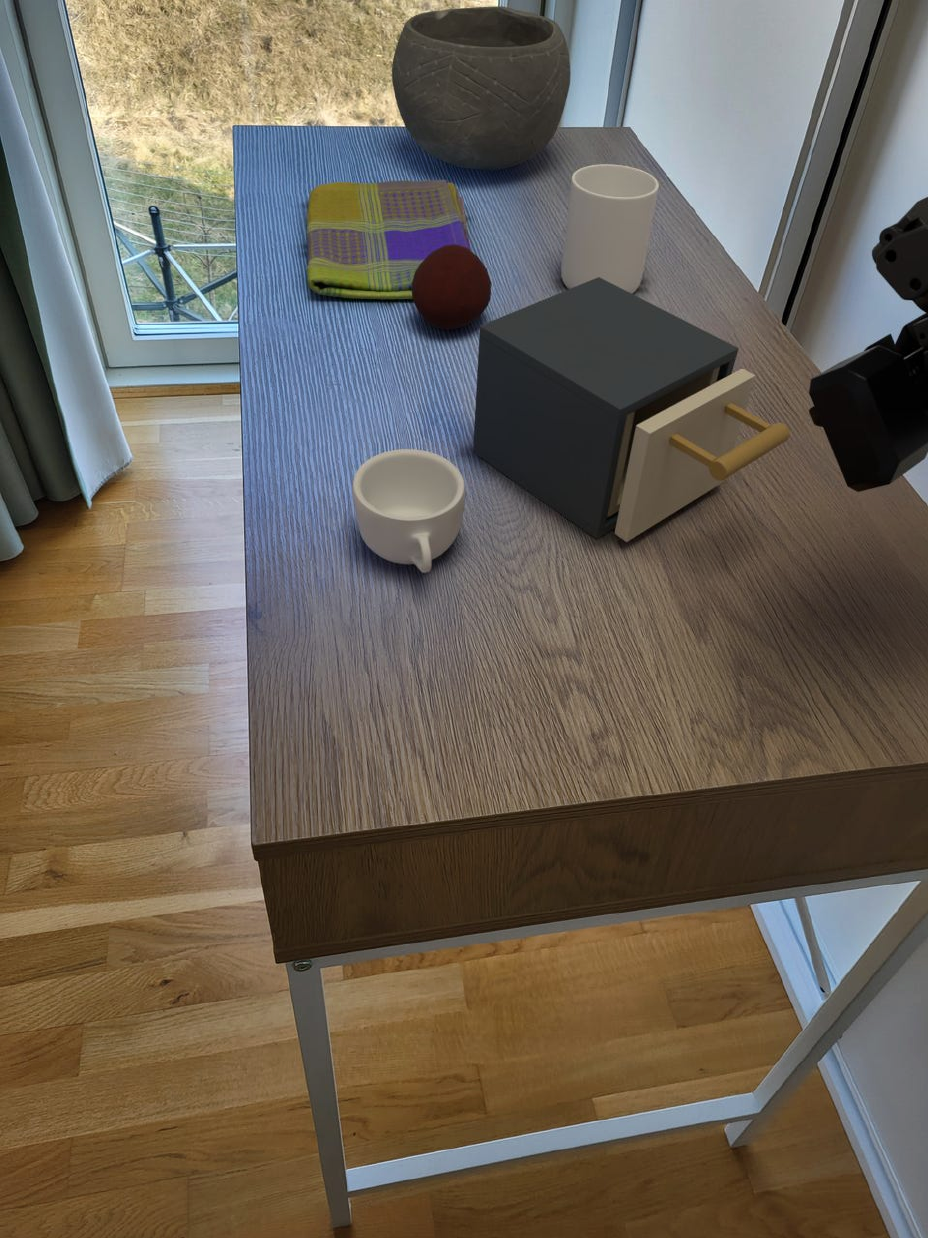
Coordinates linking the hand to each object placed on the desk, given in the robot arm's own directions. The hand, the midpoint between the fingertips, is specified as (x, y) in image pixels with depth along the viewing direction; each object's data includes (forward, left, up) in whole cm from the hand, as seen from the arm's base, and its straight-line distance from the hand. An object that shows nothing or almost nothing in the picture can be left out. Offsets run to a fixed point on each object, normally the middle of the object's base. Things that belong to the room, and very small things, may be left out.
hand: (814, 415), depth 58 cm
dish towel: (+35, -46, -13) cm, 59 cm away
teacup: (+25, +2, -13) cm, 28 cm away
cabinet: (+13, -11, -13) cm, 21 cm away
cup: (+12, -44, -13) cm, 47 cm away
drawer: (+9, -8, -12) cm, 17 cm away
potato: (+27, -31, -13) cm, 43 cm away
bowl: (+29, -72, -13) cm, 79 cm away
